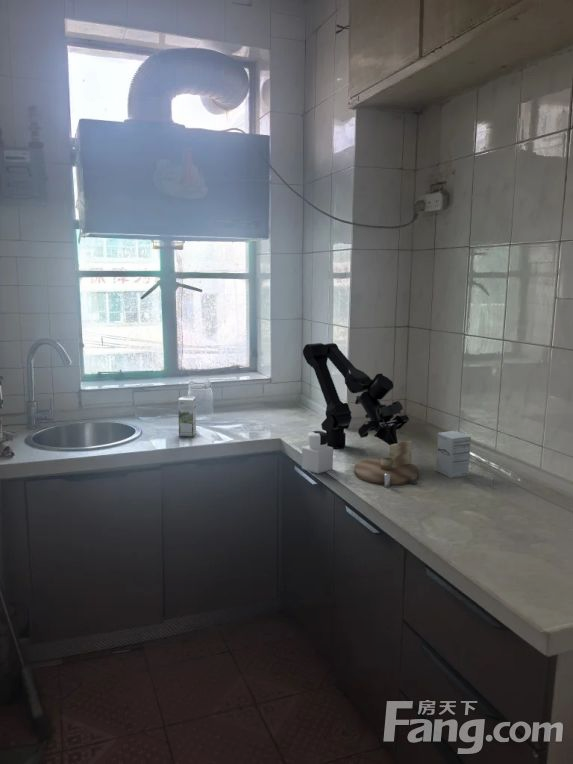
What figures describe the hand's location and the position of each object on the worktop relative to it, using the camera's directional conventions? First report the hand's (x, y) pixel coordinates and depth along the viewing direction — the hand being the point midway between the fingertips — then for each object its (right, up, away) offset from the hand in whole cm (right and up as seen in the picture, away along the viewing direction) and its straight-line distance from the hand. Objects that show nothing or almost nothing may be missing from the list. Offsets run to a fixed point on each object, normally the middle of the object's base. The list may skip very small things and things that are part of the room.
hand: (396, 447), depth 193 cm
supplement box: (+17, -8, -3) cm, 19 cm away
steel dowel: (-6, -10, -16) cm, 19 cm away
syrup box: (-73, +1, +37) cm, 81 cm away
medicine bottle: (-25, -7, 0) cm, 26 cm away
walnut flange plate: (-4, -8, -5) cm, 10 cm away
